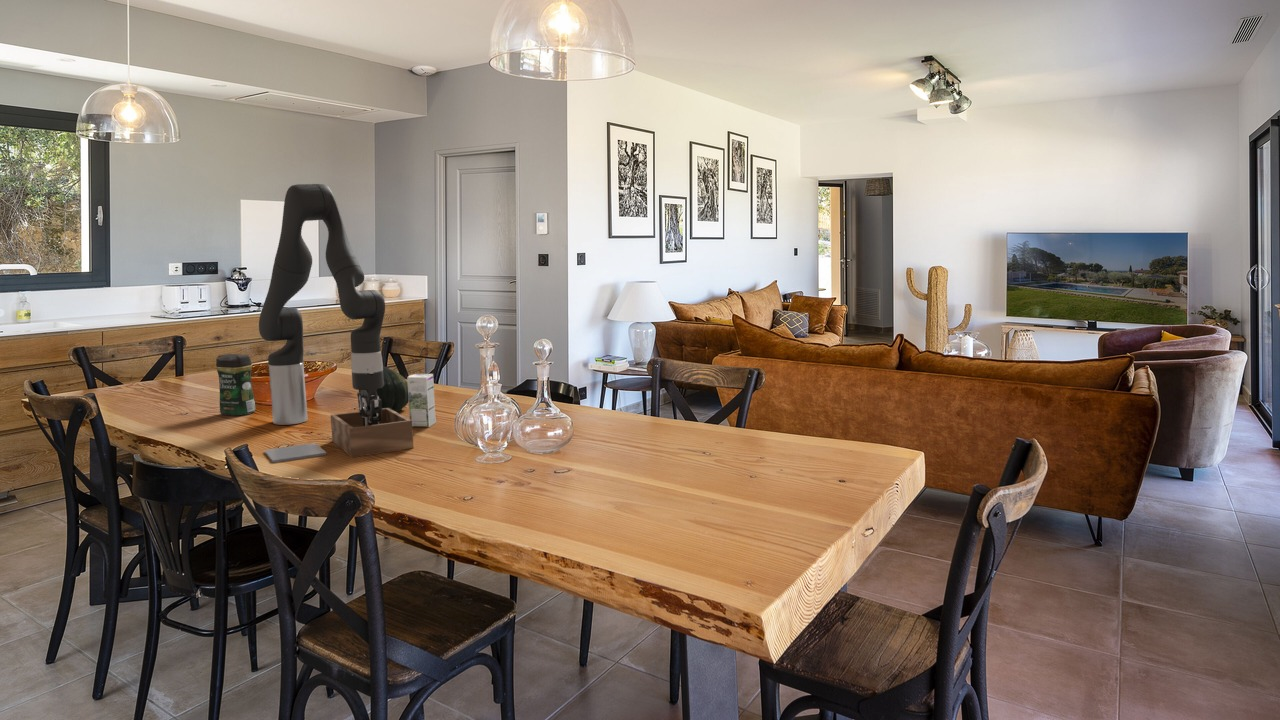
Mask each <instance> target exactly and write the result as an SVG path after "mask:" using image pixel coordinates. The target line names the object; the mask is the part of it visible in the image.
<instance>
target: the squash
mask: <svg viewBox="0 0 1280 720" xmlns="http://www.w3.org/2000/svg"><path fill="white" fill-rule="evenodd" d="M383 379H384V386H383V387H382V388H378V389H377V390H376V392H377V395H378V396H379V399H381V401H382V402H381V408H382V409H383V408H390V409H392V410H393V411H395V412H397V413H399V411H401V410H402V409H404V408H405V407H406V406H407V405H408V404H409V399H408V383H407V380H406V379H407V378H405V377H404V376H403V375H401V373H398V372H397V371H394V369H393V370H392V369H391V368H389V367H387V366H384V365H383ZM360 392H361V390H358V393H360ZM363 407H364V406H363Z"/></svg>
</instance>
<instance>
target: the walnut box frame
mask: <svg viewBox="0 0 1280 720" xmlns="http://www.w3.org/2000/svg"><path fill="white" fill-rule="evenodd" d="M361 416H362V415H360V414H359V410H358V411H352V412H350V411H349V412H344V413H335V414H330V427H331V441H332V442H333V443H334V444H335V445H337V446H338V447H339V448H340V449H341V450H342V451H344V452H345V453H346V454H347V455H349V456H350V457H351V458H357V457H362V456H369V455H376V454H382V453H388V452H389V453H391V452H397V451H402V450H409V449H414V435H413V434H414V433H413V427H412V420H410V418H408V417H406V416H405V415H403V414H402V413H401V414H400V413H399V412H395V411H393V410H392V409H390V408H383V409H382V415H381V421H379V424H376V425H369V426H363V419H362V418H361Z"/></svg>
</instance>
